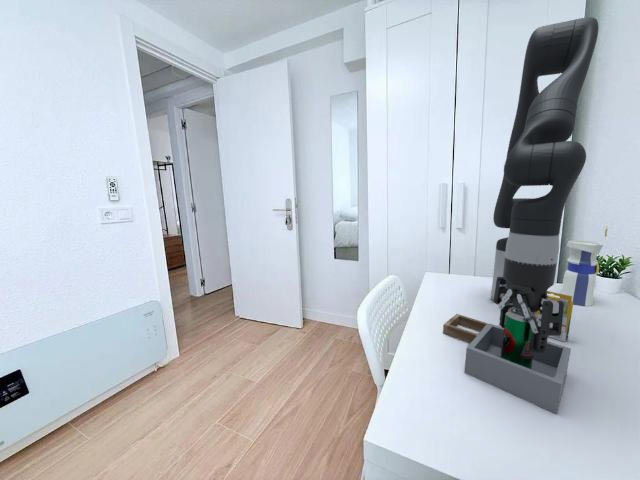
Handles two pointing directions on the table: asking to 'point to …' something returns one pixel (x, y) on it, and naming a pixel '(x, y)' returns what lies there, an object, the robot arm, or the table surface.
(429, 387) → the table surface
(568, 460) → the table surface
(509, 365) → the bin
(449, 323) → the frame
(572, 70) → the robot arm
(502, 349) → the soda can
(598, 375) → the table surface
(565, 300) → the crayon box
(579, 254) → the white plastic bottle
